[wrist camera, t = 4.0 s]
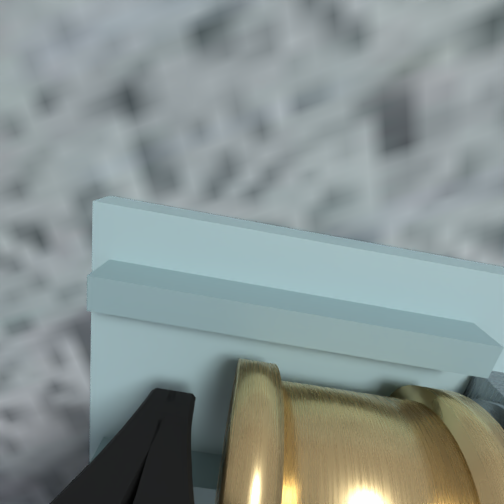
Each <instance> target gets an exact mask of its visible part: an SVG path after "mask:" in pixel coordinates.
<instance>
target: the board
mask: <svg viewBox="0 0 504 504" xmlns="http://www.w3.org/2000/svg"><path fill="white" fill-rule="evenodd" d="M87 311H91V374H90V448H89V464H90V463H91V462H92V461H93V459H94V458H95V457H96V456H97V455H98V454H99V453H100V452H101V451H102V450H103V449H104V447H105V446H106V445H107V444H108V443H109V442H110V441H111V440H112V439H113V437H114V436H115V435H116V434H117V433H118V432H119V431H120V430H121V428H122V427H123V426H124V425H125V424H126V422H127V421H128V420H129V419H130V418H131V417H132V415H133V414H134V413H135V412H136V410H137V409H138V408H139V407H140V405H141V404H142V403H143V402H144V400H145V399H146V398H147V396H148V395H149V393H150V392H151V391H152V390H153V389H155V388H161V389H167V390H173V391H180V392H186V393H192V394H193V395H194V396H195V397H196V400H195V407H194V413H193V420H192V428H191V458H192V479H193V493H194V503H195V504H215V497H216V490H217V483H218V476H219V469H220V462H221V455H222V449H223V442H224V436H225V429H226V423H227V417H228V411H229V405H230V399H231V393H232V387H233V382H234V377H235V372H236V367H237V363H238V360H239V358H241V359H248V360H254V361H261V362H267V363H274V364H276V365H277V366H278V368H279V371H280V376H281V380H282V381H289V382H295V383H302V384H308V385H315V386H321V387H328V388H334V389H341V390H348V391H354V392H361V393H367V394H374V395H380V396H387V397H389V396H390V395H391V394H392V393H393V392H394V391H395V390H396V389H398V388H400V387H402V386H407V385H416V386H423V387H429V388H436V389H442V390H449V391H453V392H457V393H460V394H462V395H463V393H464V391H465V389H466V387H467V385H468V383H469V380H470V378H471V376H476V377H482V378H488V377H489V375H490V373H491V371H497V372H503V373H504V267H501V266H496V265H490V264H485V263H479V262H474V261H468V260H463V259H457V258H452V257H446V256H440V255H435V254H429V253H424V252H418V251H413V250H407V249H402V248H396V247H391V246H385V245H380V244H374V243H369V242H363V241H358V240H352V239H347V238H341V237H336V236H330V235H324V234H319V233H313V232H308V231H302V230H297V229H291V228H286V227H280V226H275V225H269V224H264V223H258V222H253V221H247V220H242V219H236V218H231V217H225V216H220V215H214V214H208V213H203V212H197V211H192V210H186V209H181V208H175V207H170V206H164V205H159V204H153V203H148V202H142V201H137V200H131V199H126V198H120V197H115V196H107V197H104V198H101V199H98V200H94V201H93V226H92V272H91V273H90V274H89V275H87Z"/></svg>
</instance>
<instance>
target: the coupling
mask: <svg viewBox="0 0 504 504" xmlns="http://www.w3.org/2000/svg"><path fill="white" fill-rule="evenodd" d="M215 504H504V430H503V428H502V427H501V426H500V424H499V423H498V422H497V421H496V420H495V419H494V418H493V417H492V416H491V415H490V414H489V413H488V412H487V411H486V410H485V409H483V408H482V407H481V406H480V405H479V404H477V403H476V402H474V401H473V400H471V399H470V398H468V397H466V396H464V395H462V394H460V393H457V392H453V391H449V390H442V389H436V388H429V387H423V386H416V385H407V386H402V387H400V388H398V389H396V390H395V391H394V392H393V393H392V394H391V395H390V396H389V397H387V396H380V395H374V394H367V393H361V392H354V391H348V390H341V389H334V388H328V387H321V386H315V385H308V384H302V383H295V382H289V381H282V380H281V376H280V371H279V368H278V366H277V365H276V364H274V363H267V362H261V361H254V360H248V359H241V358H239V360H238V363H237V367H236V372H235V377H234V382H233V387H232V393H231V399H230V405H229V411H228V417H227V423H226V429H225V436H224V442H223V449H222V455H221V462H220V469H219V476H218V483H217V490H216V497H215Z"/></svg>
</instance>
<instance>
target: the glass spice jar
mask: <svg viewBox="0 0 504 504" xmlns="http://www.w3.org/2000/svg"><path fill="white" fill-rule="evenodd" d="M463 395H464V396H466V397H468V398H470V399H471V400H473V401H474V402H476V403H477V404H479V405H480V406H481V407H482V408H483V409H485V410H486V411H487V412H488V413H489V414H490V415H491V416H492V417H493V418H494V419H495V420H496V421H497V422H498V423H499V424H500V426H501V427H502V428H503V430H504V373H503V372H497V371H491V373H490V375H489V377H488V378H482V377H476V376H471V378H470V380H469V383H468V385H467V387H466V389H465V391H464V393H463Z"/></svg>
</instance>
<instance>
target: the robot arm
mask: <svg viewBox="0 0 504 504" xmlns="http://www.w3.org/2000/svg"><path fill="white" fill-rule="evenodd" d="M195 400H196V397H195V396H194V395H193V394H192V393H186V392H180V391H173V390H167V389H161V388H155V389H153V390H152V391H151V392H150V393H149V395H148V396H147V398H146V399H145V400H144V402H143V403H142V404H141V405H140V407H139V408H138V409H137V410H136V412H135V413H134V414H133V415H132V417H131V418H130V419H129V420H128V421H127V422H126V424H125V425H124V426H123V427H122V428H121V430H120V431H119V432H118V433H117V434H116V435H115V436H114V437H113V439H112V440H111V441H110V442H109V443H108V444H107V445H106V446H105V447H104V449H103V450H102V451H101V452H100V453H99V454H98V455H97V456H96V457H95V458H94V459H93V461H92V462H91V463H90V464H89V465H88V466H87V467H86V468H85V469H84V470H83V471H82V472H81V473H80V474H79V475H78V476H77V477H76V478H75V479H74V480H73V481H72V482H71V483H70V484H69V485H68V486H67V487H66V488H65V489H64V490H63V491H62V492H61V493H60V494H59V495H58V496H57V497H56V498H55V499H54V500H53V501H52V502H51V503H50V504H195V503H194V493H193V479H192V458H191V428H192V420H193V413H194V407H195Z"/></svg>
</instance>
